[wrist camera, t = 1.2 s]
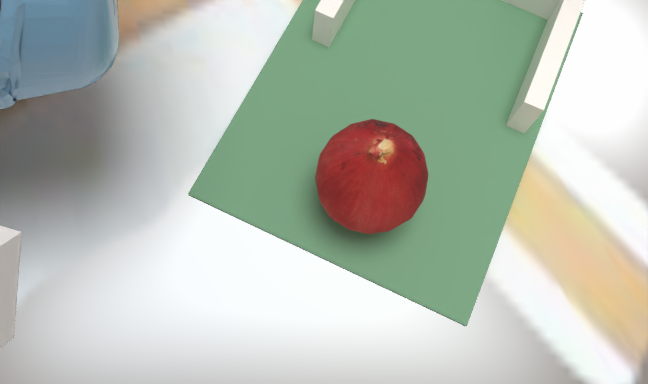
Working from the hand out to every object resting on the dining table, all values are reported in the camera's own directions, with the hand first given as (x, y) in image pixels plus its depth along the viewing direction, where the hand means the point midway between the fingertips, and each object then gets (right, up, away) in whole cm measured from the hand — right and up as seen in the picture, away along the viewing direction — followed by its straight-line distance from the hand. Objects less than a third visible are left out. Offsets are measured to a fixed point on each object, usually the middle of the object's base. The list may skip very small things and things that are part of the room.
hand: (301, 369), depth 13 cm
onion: (+3, +3, +23) cm, 23 cm away
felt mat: (+5, +10, +25) cm, 28 cm away
